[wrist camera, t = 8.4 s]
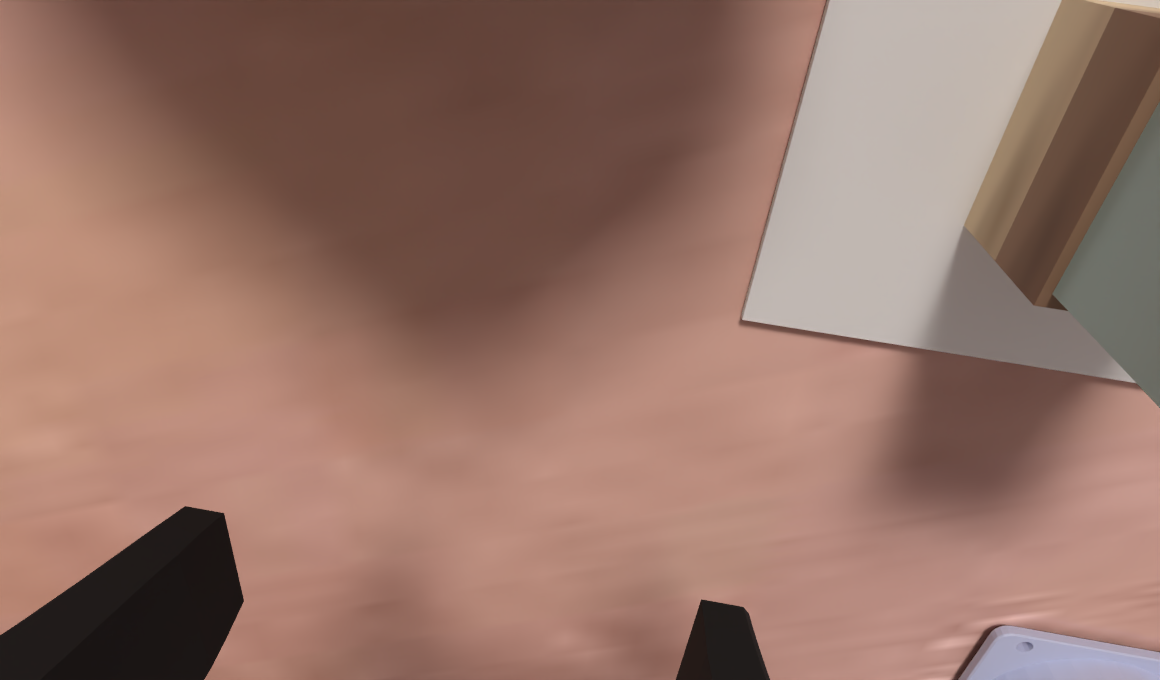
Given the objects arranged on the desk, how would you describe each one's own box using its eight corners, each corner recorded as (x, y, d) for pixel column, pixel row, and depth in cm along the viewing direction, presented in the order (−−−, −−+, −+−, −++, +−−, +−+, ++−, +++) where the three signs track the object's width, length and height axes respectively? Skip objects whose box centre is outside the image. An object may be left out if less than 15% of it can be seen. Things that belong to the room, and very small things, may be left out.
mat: (1719, -156, 12) (1740, -157, 12) (1272, 399, 18) (1280, 406, 18) (895, -254, 13) (900, -257, 12) (741, 314, 19) (742, 319, 19)
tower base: (1321, 30, 14) (1409, 46, 12) (1178, 257, 17) (1234, 297, 15) (1064, -5, 14) (1115, 7, 12) (963, 225, 17) (994, 261, 15)
